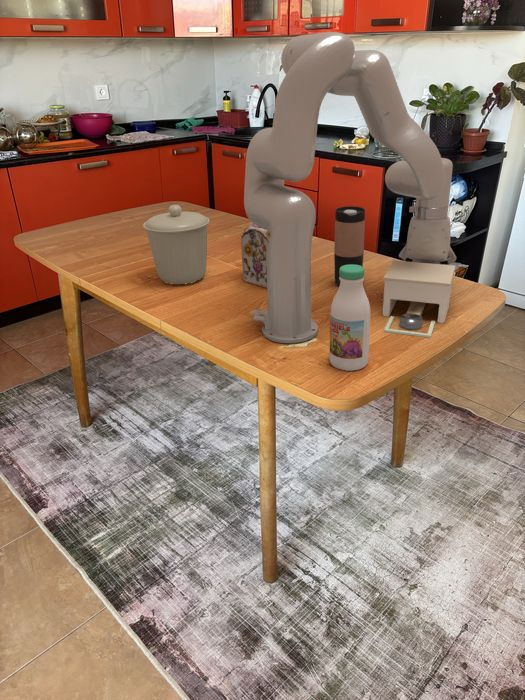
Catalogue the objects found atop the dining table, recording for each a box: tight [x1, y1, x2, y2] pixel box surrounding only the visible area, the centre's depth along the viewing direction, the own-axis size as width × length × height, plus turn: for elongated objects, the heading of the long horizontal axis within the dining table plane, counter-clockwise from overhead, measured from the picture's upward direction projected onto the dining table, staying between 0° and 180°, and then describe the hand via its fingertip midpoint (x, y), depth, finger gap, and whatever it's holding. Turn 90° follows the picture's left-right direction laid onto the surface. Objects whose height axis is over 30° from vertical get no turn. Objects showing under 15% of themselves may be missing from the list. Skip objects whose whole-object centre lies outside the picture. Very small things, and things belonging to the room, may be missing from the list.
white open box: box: [382, 260, 456, 324], centre depth 132 cm, size 15×13×10 cm
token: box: [398, 313, 424, 331], centre depth 126 cm, size 5×5×2 cm
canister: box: [142, 204, 211, 285], centre depth 155 cm, size 18×18×21 cm
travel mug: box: [333, 205, 366, 288], centre depth 147 cm, size 8×8×20 cm
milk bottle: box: [328, 264, 371, 372], centre depth 108 cm, size 8×8×20 cm
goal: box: [383, 315, 436, 339], centre depth 126 cm, size 10×8×1 cm
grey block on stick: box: [405, 259, 435, 317], centre depth 136 cm, size 4×22×10 cm, turn 158°
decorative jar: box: [240, 222, 271, 289], centre depth 152 cm, size 12×12×18 cm
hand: (424, 283), depth 143 cm, fingers closed on grey block on stick, 4 cm apart
